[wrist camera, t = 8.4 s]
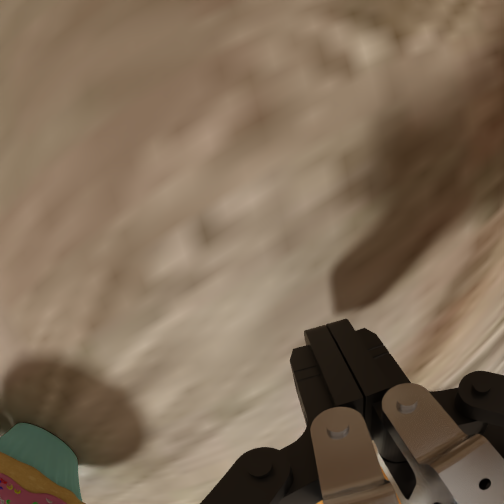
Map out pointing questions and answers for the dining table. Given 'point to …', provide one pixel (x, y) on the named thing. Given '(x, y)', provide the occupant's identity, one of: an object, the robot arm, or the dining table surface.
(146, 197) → the dining table surface
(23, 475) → the cupcake
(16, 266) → the dining table surface
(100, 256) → the dining table surface
